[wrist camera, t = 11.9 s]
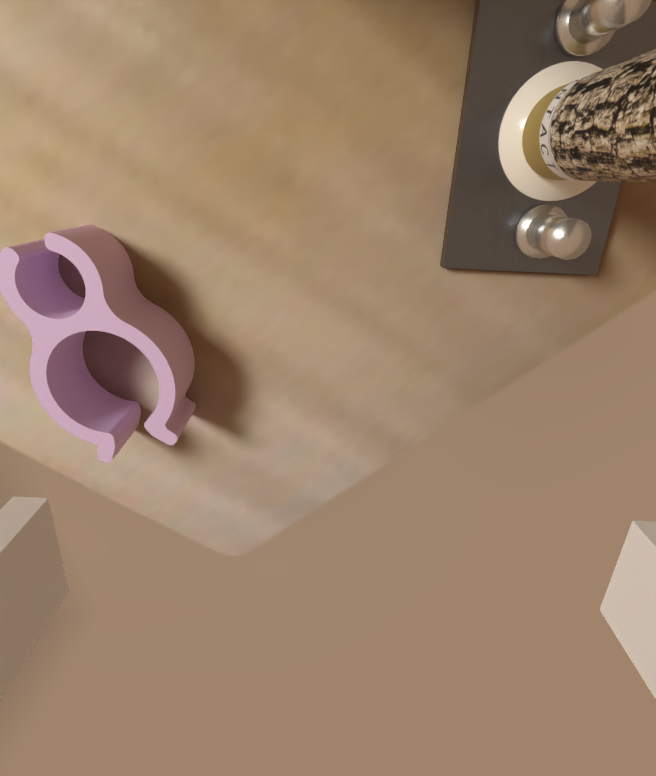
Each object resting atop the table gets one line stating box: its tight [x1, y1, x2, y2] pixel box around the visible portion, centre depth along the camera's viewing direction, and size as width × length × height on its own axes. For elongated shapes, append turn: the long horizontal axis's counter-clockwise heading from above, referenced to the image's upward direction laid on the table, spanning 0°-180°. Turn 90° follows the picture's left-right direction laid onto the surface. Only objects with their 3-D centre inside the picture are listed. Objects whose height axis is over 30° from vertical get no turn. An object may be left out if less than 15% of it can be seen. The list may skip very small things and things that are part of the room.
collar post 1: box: [514, 205, 591, 260], centre depth 39 cm, size 4×4×6 cm
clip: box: [0, 225, 196, 463], centre depth 44 cm, size 20×12×7 cm, turn 17°
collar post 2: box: [554, 0, 652, 57], centre depth 33 cm, size 4×4×6 cm
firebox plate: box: [440, 0, 656, 275], centre depth 40 cm, size 20×14×1 cm
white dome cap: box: [498, 61, 602, 201], centre depth 39 cm, size 10×10×1 cm
